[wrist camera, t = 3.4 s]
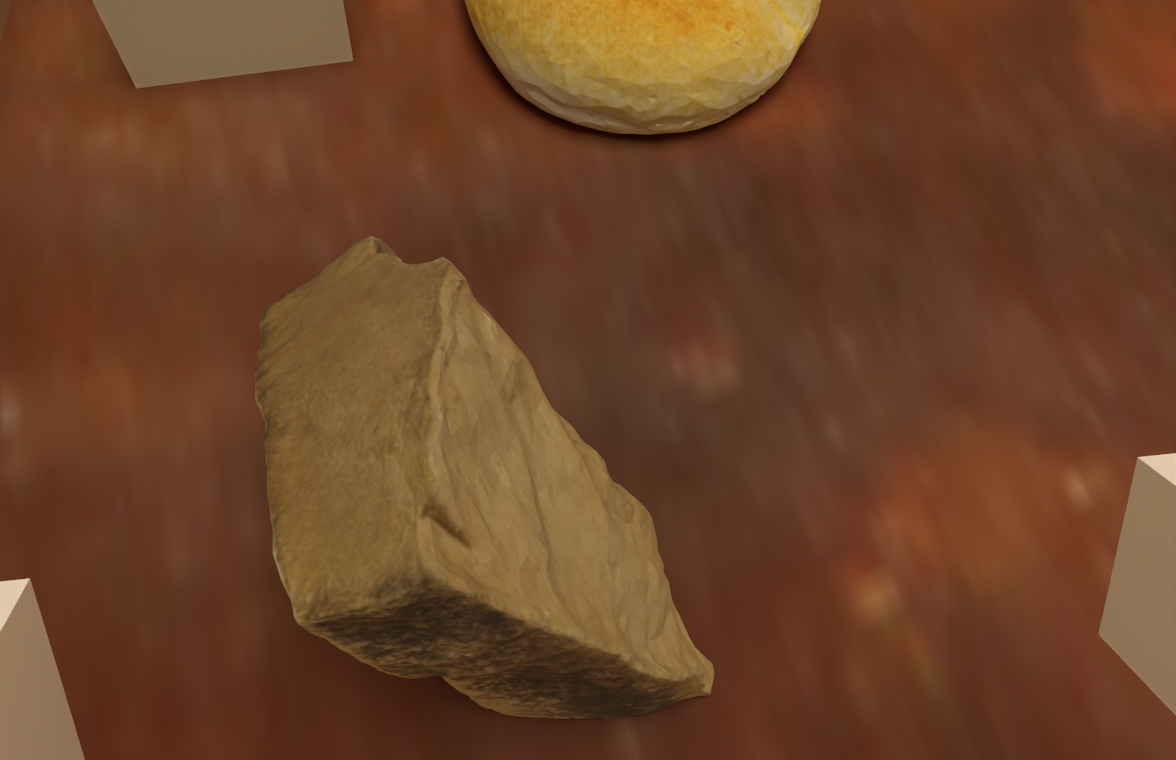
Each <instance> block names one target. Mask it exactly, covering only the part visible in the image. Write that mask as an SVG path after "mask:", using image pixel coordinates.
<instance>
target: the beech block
mask: <svg viewBox="0 0 1176 760" xmlns="http://www.w3.org/2000/svg"><path fill="white" fill-rule="evenodd" d="M11 2H12V0H0V42H1V38H2V35H3V31H4V27H5V24H6V20H7V17H8V13H9V9H10V6H11Z"/></svg>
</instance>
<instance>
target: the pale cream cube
mask: <svg viewBox="0 0 1176 760" xmlns="http://www.w3.org/2000/svg"><path fill="white" fill-rule="evenodd" d="M92 2H93V4H94V6H95V8H96V10H97V12H98V14H99V16H100V18H101V20H102V22H103V24H104V26H105V28H106V30H107V32H108V34H109V36H110V37H111V39H112V41H113V43H114V45H115V47H116V49H117V51H118V53H119V55H120V57H121V59H122V61H123V63H124V65H125V67H126V69H127V71H128V73H129V75H130V77H131V79H132V81H133V83H134V85H135V87H136V88H143V87H151V86H159V85H167V84H175V83H182V82H190V81H198V80H206V79H214V78H222V77H230V76H238V75H245V74H253V73H261V72H269V71H277V70H285V69H293V68H301V67H308V66H316V65H324V64H332V63H340V62H348V61H353V55H352V49H351V44H350V38H349V33H348V27H347V21H346V16H345V10H344V4H343V0H92Z"/></svg>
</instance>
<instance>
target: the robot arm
mask: <svg viewBox="0 0 1176 760" xmlns="http://www.w3.org/2000/svg"><path fill="white" fill-rule="evenodd" d="M1098 635H1099V636H1100V637H1101V638H1102V639H1103V640H1104V641H1105V642H1106V643H1107V644H1108V645H1109V646H1110V647H1111V648H1112V649H1113V650H1114V651H1115V652H1116V653H1117V654H1118V656H1119V657H1120V658H1121V659H1122V660H1123V661H1124V662H1125V663H1126V664H1127V665H1128V666H1129V667H1130V668H1131V669H1132V670H1133V671H1134V672H1135V673H1136V674H1137V675H1138V677H1139V678H1140V679H1141V680H1142V681H1143V682H1144V683H1145V684H1146V685H1147V686H1148V687H1149V688H1150V689H1151V690H1152V691H1153V692H1154V693H1155V694H1156V695H1157V696H1158V698H1159V699H1160V700H1161V701H1162V702H1163V703H1164V704H1165V705H1166V706H1167V707H1168V708H1169V709H1170V710H1171V711H1172V712H1173V713H1174V714H1175V715H1176V453H1173V454H1164V455H1155V456H1146V457H1138V459H1137V463H1136V468H1135V472H1134V477H1133V481H1132V486H1131V490H1130V495H1129V499H1128V504H1127V508H1126V513H1125V517H1124V522H1123V526H1122V531H1121V535H1120V540H1119V544H1118V549H1117V553H1116V558H1115V562H1114V567H1113V571H1112V576H1111V580H1110V585H1109V589H1108V594H1107V598H1106V603H1105V607H1104V612H1103V616H1102V621H1101V625H1100V630H1099V634H1098ZM0 760H85V758H84V755H83V752H82V749H81V745H80V742H79V739H78V735H77V732H76V729H75V725H74V722H73V719H72V716H71V712H70V709H69V706H68V702H67V699H66V696H65V692H64V689H63V686H62V683H61V679H60V676H59V673H58V669H57V666H56V663H55V660H54V656H53V653H52V650H51V646H50V643H49V640H48V636H47V633H46V630H45V627H44V623H43V620H42V617H41V613H40V610H39V607H38V604H37V600H36V597H35V594H34V590H33V587H32V584H31V580H30V579H21V580H11V581H2V582H0Z"/></svg>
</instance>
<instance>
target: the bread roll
mask: <svg viewBox="0 0 1176 760" xmlns="http://www.w3.org/2000/svg"><path fill="white" fill-rule="evenodd" d="M464 1H465V4H466V7H467V10H468V13H469V16H470V19H471V22H472V24H473V26H474V29H475V31H476V33H477V35H478V38H479V39H480V41H481V43H482V44H483V46H484V47H485V49H486V51H487V52H488V54H489V56H490V57H491V59H492V60H493V62H494V63H495V65H496V66H497V68H498V69H499V71H500V72H501V73H502V75H503V76H504V77H505V78H506V80H507V81H508V82H509V83H510V85H511V86H512V87H513V88H514V90H515V91H516V92H517V93H518V94H520V95H521V96H522V97H523V98H525V99H526V100H527V101H529V102H531V103H532V104H534V105H536V106H537V107H539V108H540V109H542V110H543V111H545V112H547V113H549V114H551V115H554V116H556V117H559V118H562V119H564V120H567V121H570V122H572V123H574V124H578V125H581V126H586V127H590V128H593V129H597V130H600V131H606V132H612V133H618V134H648V135H649V134H662V133H675V132H686V131H691V130H697V129H701V128H703V127H706V126H709V125H712V124H715V123H718V122H720V121H723V120H725V119H727V118H729V117H730V116H732V115H734V114H735V113H737V112H738V111H740V110H741V109H743V108H744V107H746V106H747V105H749V104H752V103H753V102H754V101H756V100H757V99H758V98H759V96H760V95H763V94H764V93H765V92H766V91H767V90H768V89H769V88H771V87H772V86H773V85H774V84H775V83H776V82H777V81H778V80H779V79H780V78H781V77H782V75H783V74H784V72H785V71H786V70H787V68H788V67H789V65H790V64H791V62H792V60H793V58H794V56H795V54H796V53H797V51H798V48H799V46H800V45H801V44H802V43H803V42H804V40H805V38H806V36H807V35H808V33H809V32H810V31H811V28H812V26H813V24H814V21H815V19H816V17H817V14H818V11H819V7H820V3H821V0H464Z"/></svg>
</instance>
